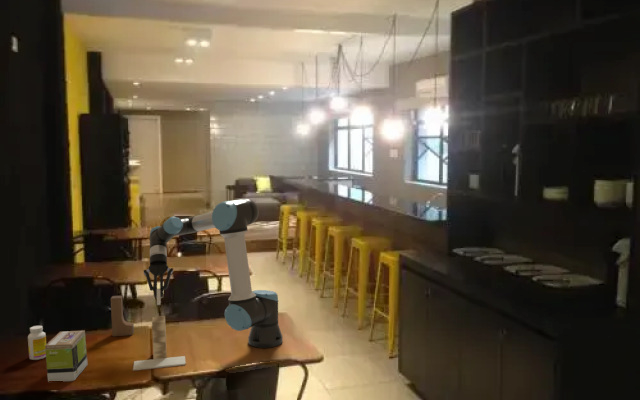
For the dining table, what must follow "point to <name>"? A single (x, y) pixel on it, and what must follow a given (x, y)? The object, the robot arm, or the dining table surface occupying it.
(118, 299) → the wooden block
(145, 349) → the dining table surface
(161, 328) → the block
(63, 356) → the tea box
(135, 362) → the mat
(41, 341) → the supplement bottle
